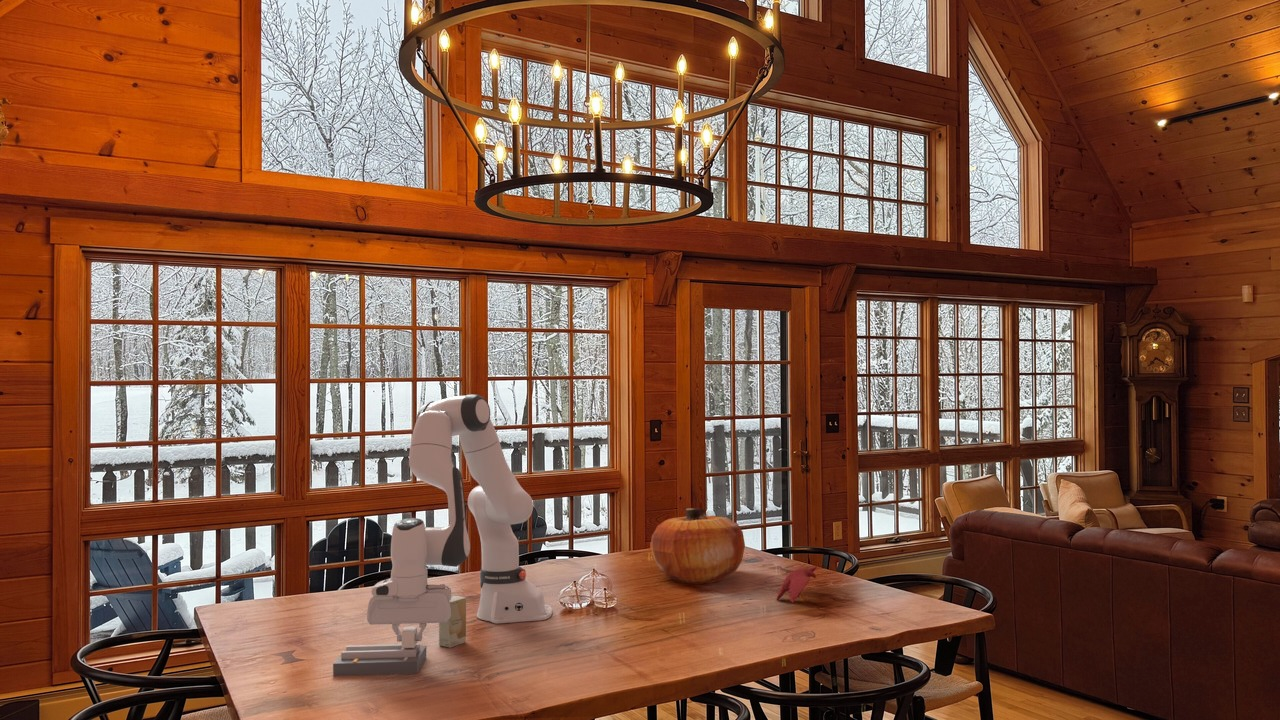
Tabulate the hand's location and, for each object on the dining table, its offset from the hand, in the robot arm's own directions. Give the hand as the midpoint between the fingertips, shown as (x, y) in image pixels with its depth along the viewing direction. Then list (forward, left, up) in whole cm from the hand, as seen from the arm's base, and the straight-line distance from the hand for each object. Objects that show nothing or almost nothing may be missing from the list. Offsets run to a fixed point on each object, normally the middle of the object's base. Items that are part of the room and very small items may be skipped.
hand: (409, 640), depth 216 cm
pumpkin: (-83, -85, -6) cm, 119 cm away
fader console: (+7, 0, -6) cm, 9 cm away
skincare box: (-8, -17, -6) cm, 20 cm away
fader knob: (0, 0, -3) cm, 3 cm away
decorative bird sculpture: (-110, -51, -6) cm, 121 cm away
